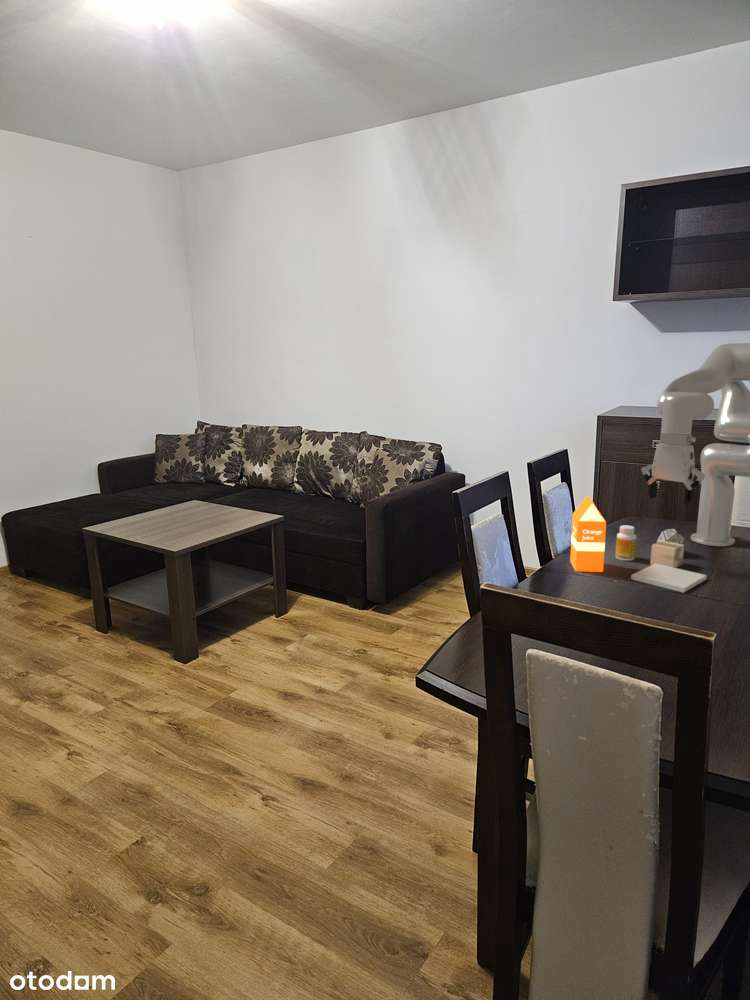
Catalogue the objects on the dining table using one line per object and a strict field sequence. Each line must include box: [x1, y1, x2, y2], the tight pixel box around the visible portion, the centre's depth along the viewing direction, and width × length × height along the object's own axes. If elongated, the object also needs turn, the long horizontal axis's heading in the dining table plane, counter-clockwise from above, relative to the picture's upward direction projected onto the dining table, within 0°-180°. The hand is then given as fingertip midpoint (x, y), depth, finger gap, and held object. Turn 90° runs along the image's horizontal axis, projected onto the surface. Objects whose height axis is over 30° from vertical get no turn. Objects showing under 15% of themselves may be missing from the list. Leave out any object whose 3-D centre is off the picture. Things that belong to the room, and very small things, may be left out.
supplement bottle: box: [614, 524, 637, 562], centre depth 190 cm, size 5×5×10 cm
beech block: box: [649, 541, 685, 568], centre depth 184 cm, size 6×6×6 cm
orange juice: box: [569, 495, 607, 573], centre depth 182 cm, size 8×9×20 cm
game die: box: [653, 526, 689, 545], centre depth 194 cm, size 9×8×10 cm
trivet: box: [630, 563, 708, 594], centre depth 172 cm, size 14×14×1 cm
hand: (669, 500), depth 179 cm, fingers open, 9 cm apart
